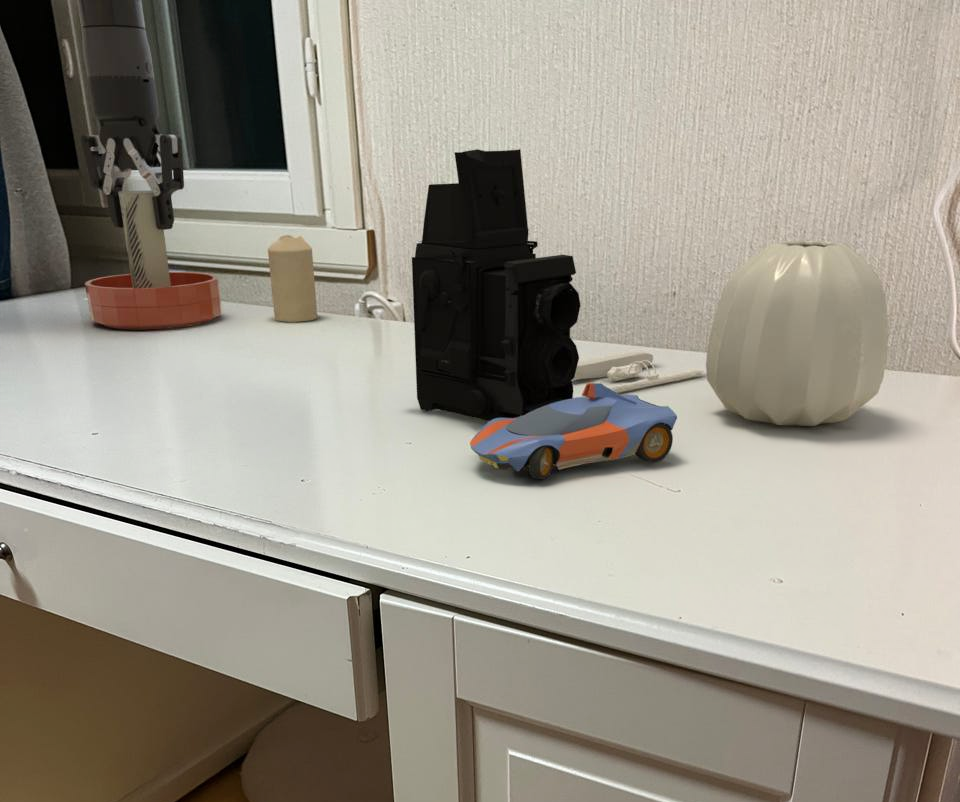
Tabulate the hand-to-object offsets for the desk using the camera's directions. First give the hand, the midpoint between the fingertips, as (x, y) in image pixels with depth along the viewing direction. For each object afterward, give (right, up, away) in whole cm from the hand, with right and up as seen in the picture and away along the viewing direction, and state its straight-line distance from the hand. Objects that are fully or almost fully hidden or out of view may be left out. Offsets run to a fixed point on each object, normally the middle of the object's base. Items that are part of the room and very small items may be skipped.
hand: (143, 227), depth 123 cm
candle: (+18, -10, +5) cm, 21 cm away
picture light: (+57, -27, -29) cm, 70 cm away
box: (0, -8, +4) cm, 9 cm away
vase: (+67, -33, -41) cm, 86 cm away
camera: (+44, -33, -39) cm, 67 cm away
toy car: (+48, -39, -51) cm, 80 cm away
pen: (+54, -26, -26) cm, 66 cm away
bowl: (0, -10, +5) cm, 11 cm away
